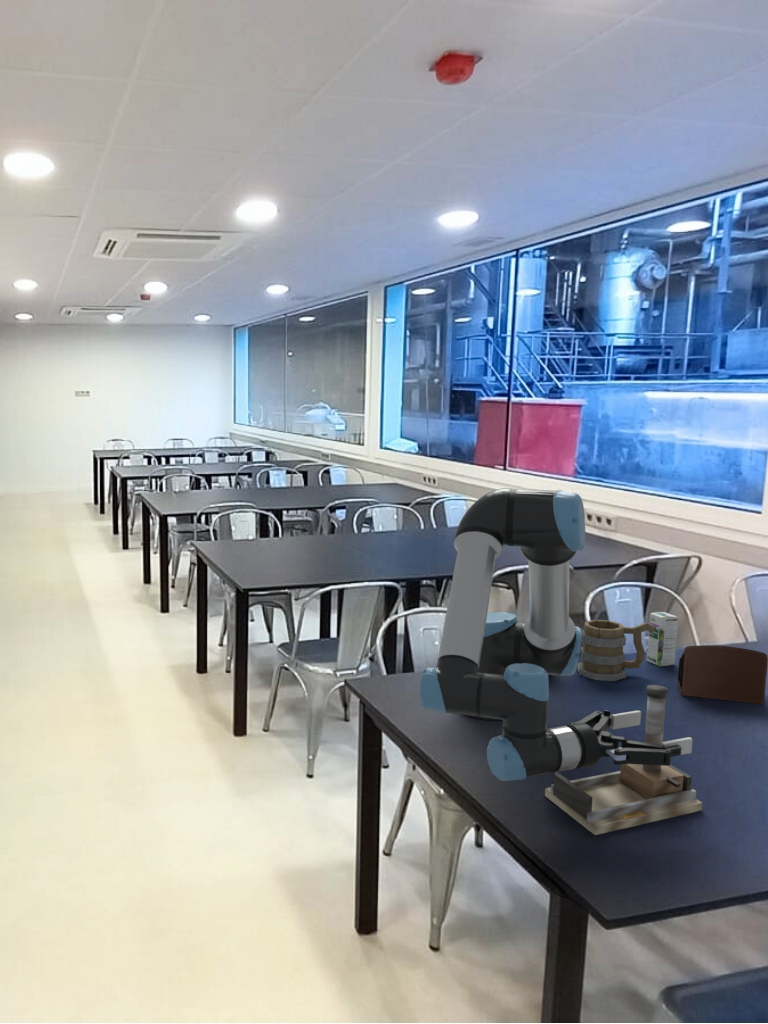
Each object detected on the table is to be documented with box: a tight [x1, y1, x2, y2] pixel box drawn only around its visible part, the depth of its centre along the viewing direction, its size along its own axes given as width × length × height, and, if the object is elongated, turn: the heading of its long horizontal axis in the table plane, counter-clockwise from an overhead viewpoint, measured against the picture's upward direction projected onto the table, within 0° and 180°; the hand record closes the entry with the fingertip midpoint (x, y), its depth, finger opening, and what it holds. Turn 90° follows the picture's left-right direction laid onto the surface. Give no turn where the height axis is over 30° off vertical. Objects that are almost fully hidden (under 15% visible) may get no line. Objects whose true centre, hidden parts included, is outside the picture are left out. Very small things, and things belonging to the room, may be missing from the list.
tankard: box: [576, 619, 655, 682], centre depth 222 cm, size 20×13×15 cm, turn 82°
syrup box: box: [646, 611, 679, 667], centre depth 233 cm, size 6×6×14 cm
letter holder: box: [677, 644, 768, 705], centre depth 209 cm, size 10×20×14 cm, turn 75°
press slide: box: [619, 684, 684, 799], centre depth 150 cm, size 7×12×20 cm, turn 23°
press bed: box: [544, 763, 703, 836], centre depth 150 cm, size 24×15×6 cm, turn 113°
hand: (664, 730), depth 152 cm, fingers open, 13 cm apart
